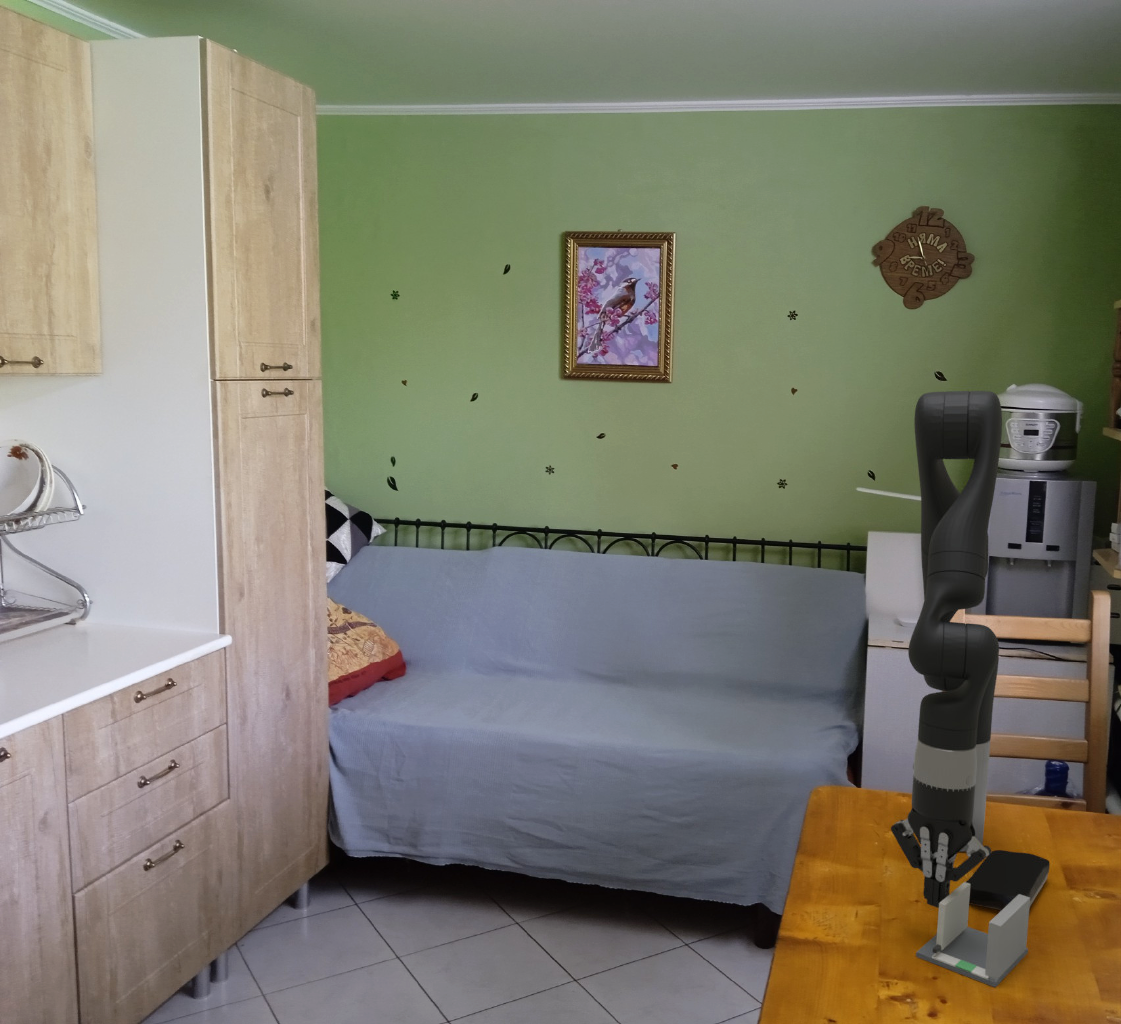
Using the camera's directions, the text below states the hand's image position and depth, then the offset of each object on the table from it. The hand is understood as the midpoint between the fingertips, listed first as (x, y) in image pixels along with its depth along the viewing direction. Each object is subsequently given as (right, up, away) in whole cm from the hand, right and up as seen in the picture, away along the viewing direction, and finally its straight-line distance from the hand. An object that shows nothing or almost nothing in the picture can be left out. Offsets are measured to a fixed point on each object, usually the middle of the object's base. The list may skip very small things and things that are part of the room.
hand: (935, 903), depth 143 cm
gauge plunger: (+1, -4, -1) cm, 4 cm away
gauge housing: (+4, -6, -3) cm, 7 cm away
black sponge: (+15, -4, +15) cm, 22 cm away
